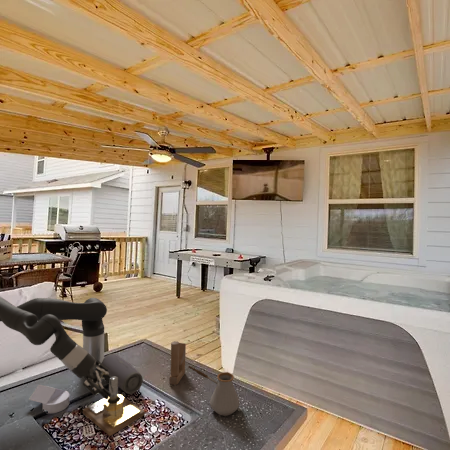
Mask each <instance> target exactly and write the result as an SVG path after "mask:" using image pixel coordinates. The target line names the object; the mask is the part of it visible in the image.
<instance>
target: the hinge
mask: <svg viewBox="0 0 450 450" xmlns="http://www.w3.org/2000/svg"><path fill="white" fill-rule="evenodd" d="M124 398H125V397H124V396H123V394H119V393H118V402H117V403H115V404H109V398H108V399H105V398H104V397H102V398H101V399H100V400H98V401H95V402H94V403H91V404H89V405H88V406H86V408H88V409H89V410H90V411H92V412H93V413H94V414H95V415H97V414H99V413H101V412H102V411H103V414H104V415H106V416H108V417H107V418H105V419H104V422H105V423H107V424H108V425H109V426H110V427H111V428H113V429H114V428H115V427H117V426H119V425H120V424H122V423H124V422H125V421H127V420H129V419H130V418H132V417H134V416H135V415H137V414H139V413H140V411H139V410H138V409H136V408H135V407H134V406H132V405H131V404H130V405H128V406H127V407H125V408H124Z"/></svg>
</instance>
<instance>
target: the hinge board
mask: <svg viewBox="0 0 450 450" xmlns="http://www.w3.org/2000/svg"><path fill="white" fill-rule="evenodd" d="M130 404H131V405H132V406H134V407H135V408H136V409H138V410H139V411H140V413H139V414H137V415H135V416H134V417H132V418H130V419H129V420H127V421H125V422H124V423H122V424H120V425H119V426H117V427H115V428H114V429H113V428H111V427H110V426H109V425H108V424H107V423H105V422H104V419H105V418H107V417H108V416H106V415H104V414H103V411H102V412H101V413H99V414H97V415H95V414H94V413H93V412H92V411H90V410H89V409H88V408H87V407H85V408H83V409H82V414H83V415H84V416H85V417H87V419H89V420H90V421H91V422H93V424H95V426H97V427H99V429H101V430H102V431H103V432H104V433H105V434H106V435H108V437H111V436H113V435H114V434H117V433H118V432H119V431H121V430H122V429H125V428H126V427H127V426H129V425H131V424H132V423H134V422H135V421H137V420H138V419H140V418H143V416H144V417H145V410H143V409H142V408H141V407H139V406H138V405H137V404H134V403H133V402H131V401H130V400H129V399H127V398H126V397H124V408H125V407H127V406H128V405H130Z"/></svg>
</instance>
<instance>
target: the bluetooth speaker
mask: <svg viewBox="0 0 450 450" xmlns="http://www.w3.org/2000/svg"><path fill="white" fill-rule="evenodd" d="M102 364H103V365H104V366H105V367H106V368H108V370H109V371H108V373H109V375H110V376H111V377H114V376H116V377H118V389H120V390H121V391H122V392H124V393H126V394H128V395H131V394H135V393H136V392H138V391H139V390H140V389H141V387H142V384H143V381H144V379H143V376H142V374H141V373H140V372H139V370H138V369H136V368H135V366H133V365H132V364H130V363H129V362H128V361H127V360H125V359H124V358H123V357H121V356H119V355H117V354H116V353H110V354H107V355H106V356H104V359H103V361H102ZM102 369H103V368H102Z"/></svg>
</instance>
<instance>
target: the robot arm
mask: <svg viewBox="0 0 450 450" xmlns="http://www.w3.org/2000/svg"><path fill="white" fill-rule="evenodd" d="M107 313H108V309H107V305H106V304H105V303H104V302H103V301H102V300H100V298H97V297H90V298H88V299H86V300H85V301H84V302H73V301H67V300H65V299H59V298H53V297H52V298H51V297H50V298H49V297H46V298H45V297H36V298H32V299H30V300H28V301H24V303H21V304H20V305H17V306H15V305H13V304H12V303H11V302H10V301H8V300H6V299H5V298H3V297H2V296H0V322H2V323H3V324H4V326H6V327H7V328H9V329H11V330H13V331H16V332H19V334H21V335H23V336H24V337H25V338H26V339H27V341H28V342H30V344H31V345H33V346H40V345H44V344H45V343H46V342H47V341H49V339H50V338H51V337H52V336H53V335H55V336H54V337H55V340H54V342H53V343H52V345H51V347H50V349H49V350H50V352H51V354H52V355H54V357H56V358H57V359H58V360H59V361H60V362H61V363H62V364H63V365H64V366H65V367H66V368H67V369H68V370H69V371H70V372H71V373H73V374H74V375H75V376H76V377H77V378H78V379H81V378H85V381H83V383H82V385H83V386H84V388H86V389H87V390H88V391H89V392H90V393H91V394H92V395H93V396H96V395H97V394H99V396H101V397H102V398H105V399H108V398H109V397H110V396H111V393H110V392H109V389H106V387H104V386H103V384H102V383H103V382H102V379H103V380H104V381H105V382H106V383H107V384H108V385H109V379H110V378H111V376H110V375H109V373H108V371H109V370H108V368H106V367H105V366H104V365H103V364H102V361H103V359H104V358H105V325H104V321H103V318H104V317H106V315H107ZM70 320H72V321H73V320H75V321H77V320H78V321H81V328H82V346H81V345H79V344H78V343H77V342H76V341H75V340H73V339H72V337H70V335H68V333H67V332H66V329H64V327H63V325H62V323H61V321H70ZM102 368H103V369H102Z"/></svg>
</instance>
